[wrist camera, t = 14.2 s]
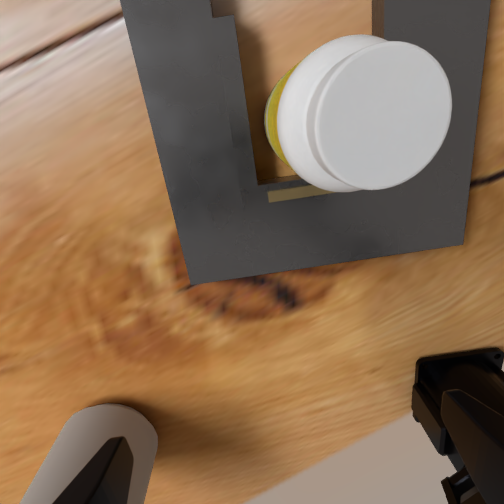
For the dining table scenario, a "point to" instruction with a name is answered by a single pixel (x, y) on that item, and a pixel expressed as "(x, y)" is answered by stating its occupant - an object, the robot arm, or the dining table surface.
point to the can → (95, 451)
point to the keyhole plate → (294, 187)
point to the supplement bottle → (360, 114)
